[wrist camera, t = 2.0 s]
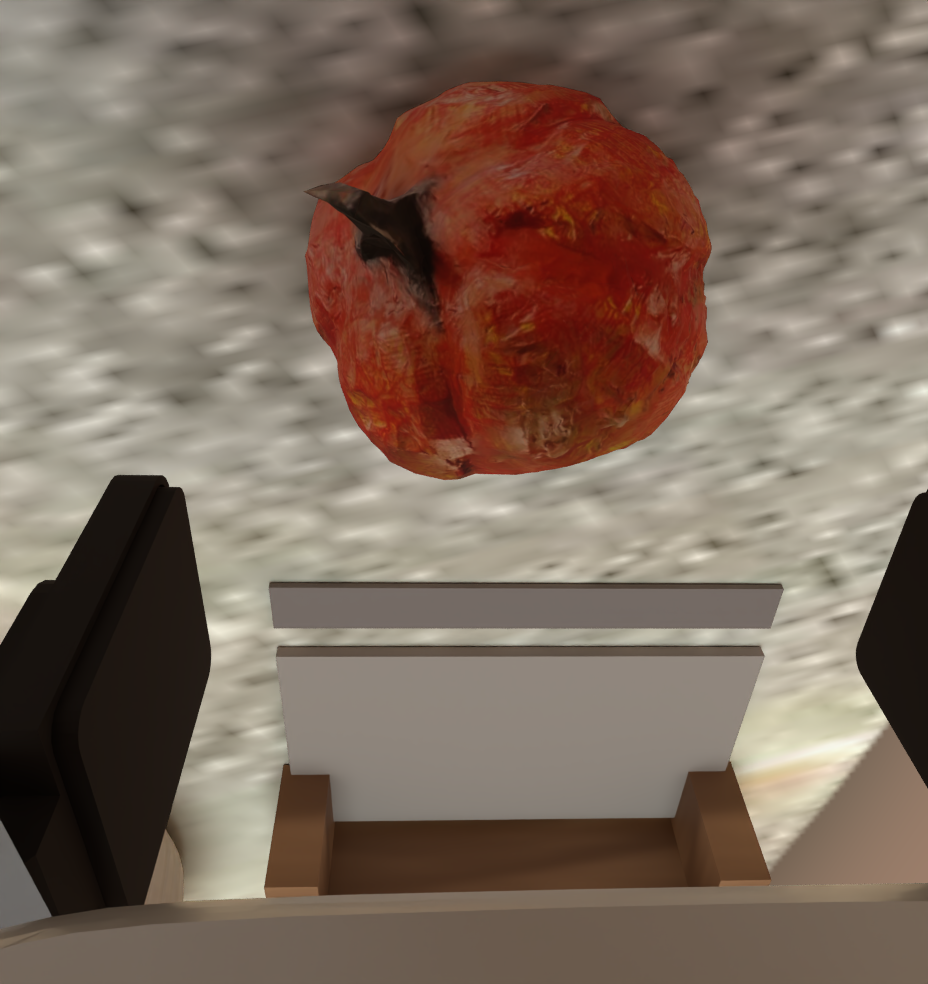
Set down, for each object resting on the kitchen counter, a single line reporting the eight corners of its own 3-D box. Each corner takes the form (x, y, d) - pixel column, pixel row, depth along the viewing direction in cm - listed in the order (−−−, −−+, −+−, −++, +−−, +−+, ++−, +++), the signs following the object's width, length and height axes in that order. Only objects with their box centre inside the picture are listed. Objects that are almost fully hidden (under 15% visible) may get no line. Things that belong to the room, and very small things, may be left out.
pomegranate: (686, 176, 21) (542, -183, 12) (800, 451, 18) (728, 264, 10) (424, 309, 23) (145, 97, 14) (497, 564, 21) (220, 499, 12)
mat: (277, 647, 26) (275, 656, 26) (760, 646, 27) (764, 656, 27) (298, 811, 31) (296, 821, 31) (706, 807, 32) (709, 817, 31)
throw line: (269, 582, 25) (268, 587, 24) (781, 584, 25) (783, 589, 25) (274, 623, 26) (273, 628, 25) (768, 623, 26) (770, 628, 26)
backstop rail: (283, 765, 29) (264, 887, 26) (730, 761, 30) (771, 879, 27) (294, 845, 32) (278, 966, 29) (703, 840, 33) (737, 957, 29)
